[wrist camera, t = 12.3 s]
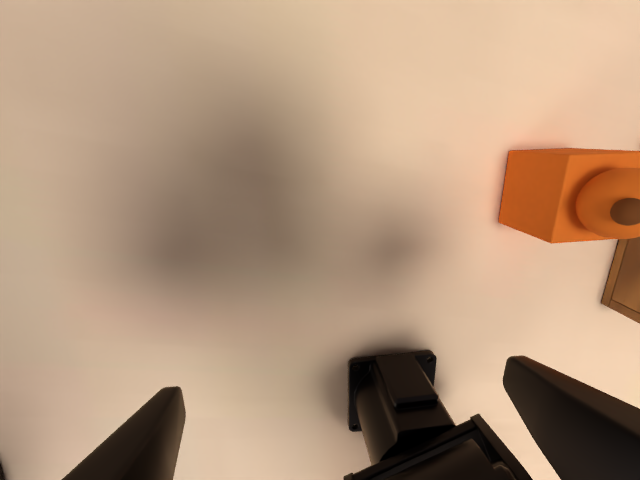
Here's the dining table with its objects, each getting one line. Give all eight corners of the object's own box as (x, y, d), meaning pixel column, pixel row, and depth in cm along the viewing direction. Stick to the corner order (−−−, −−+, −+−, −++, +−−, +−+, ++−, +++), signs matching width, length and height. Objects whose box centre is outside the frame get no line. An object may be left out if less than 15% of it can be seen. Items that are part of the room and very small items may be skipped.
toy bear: (556, 218, 21) (694, 260, 14) (497, 222, 21) (609, 267, 14) (570, 148, 20) (733, 154, 13) (508, 150, 20) (639, 159, 12)
